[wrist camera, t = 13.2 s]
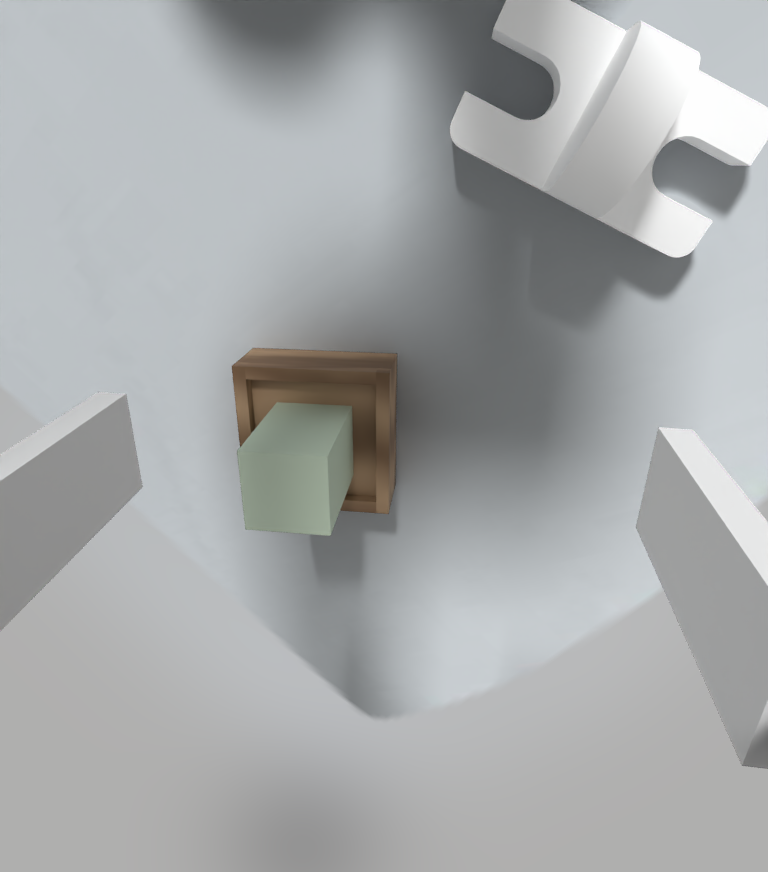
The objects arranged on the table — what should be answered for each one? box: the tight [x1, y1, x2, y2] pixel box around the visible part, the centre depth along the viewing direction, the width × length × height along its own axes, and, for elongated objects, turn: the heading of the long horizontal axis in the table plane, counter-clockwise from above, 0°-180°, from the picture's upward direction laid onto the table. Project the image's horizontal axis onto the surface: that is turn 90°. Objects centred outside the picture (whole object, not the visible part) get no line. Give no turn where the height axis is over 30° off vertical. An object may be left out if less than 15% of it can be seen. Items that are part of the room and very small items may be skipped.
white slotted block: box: [450, 0, 768, 258], centre depth 36 cm, size 10×18×11 cm, turn 65°
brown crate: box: [232, 348, 397, 514], centre depth 50 cm, size 12×12×5 cm
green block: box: [237, 402, 354, 536], centre depth 44 cm, size 6×6×9 cm
